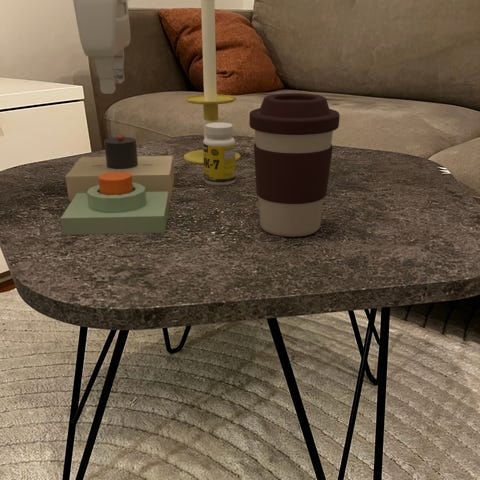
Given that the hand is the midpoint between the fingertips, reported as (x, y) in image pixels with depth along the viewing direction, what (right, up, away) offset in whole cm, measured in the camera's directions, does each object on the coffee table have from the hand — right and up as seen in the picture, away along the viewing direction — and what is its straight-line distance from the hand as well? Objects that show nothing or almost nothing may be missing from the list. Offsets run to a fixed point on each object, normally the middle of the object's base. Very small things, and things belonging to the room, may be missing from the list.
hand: (113, 87), depth 80 cm
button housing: (+2, -19, -6) cm, 20 cm away
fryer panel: (0, -12, +6) cm, 14 cm away
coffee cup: (+23, -20, -8) cm, 32 cm away
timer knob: (0, -9, +5) cm, 10 cm away
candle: (+12, -3, +24) cm, 27 cm away
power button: (+2, -16, -8) cm, 18 cm away
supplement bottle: (+14, -11, +10) cm, 20 cm away
